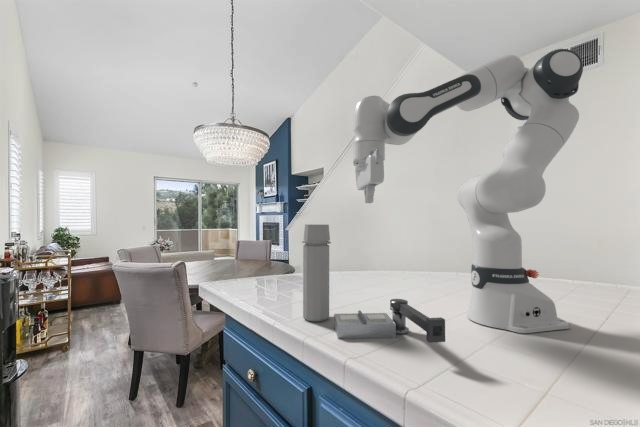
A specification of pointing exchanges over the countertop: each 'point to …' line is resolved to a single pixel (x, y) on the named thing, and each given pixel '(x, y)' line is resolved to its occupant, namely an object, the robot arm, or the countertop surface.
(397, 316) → the grey round knob
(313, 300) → the water bottle
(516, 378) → the countertop surface
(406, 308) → the bar
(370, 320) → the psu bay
